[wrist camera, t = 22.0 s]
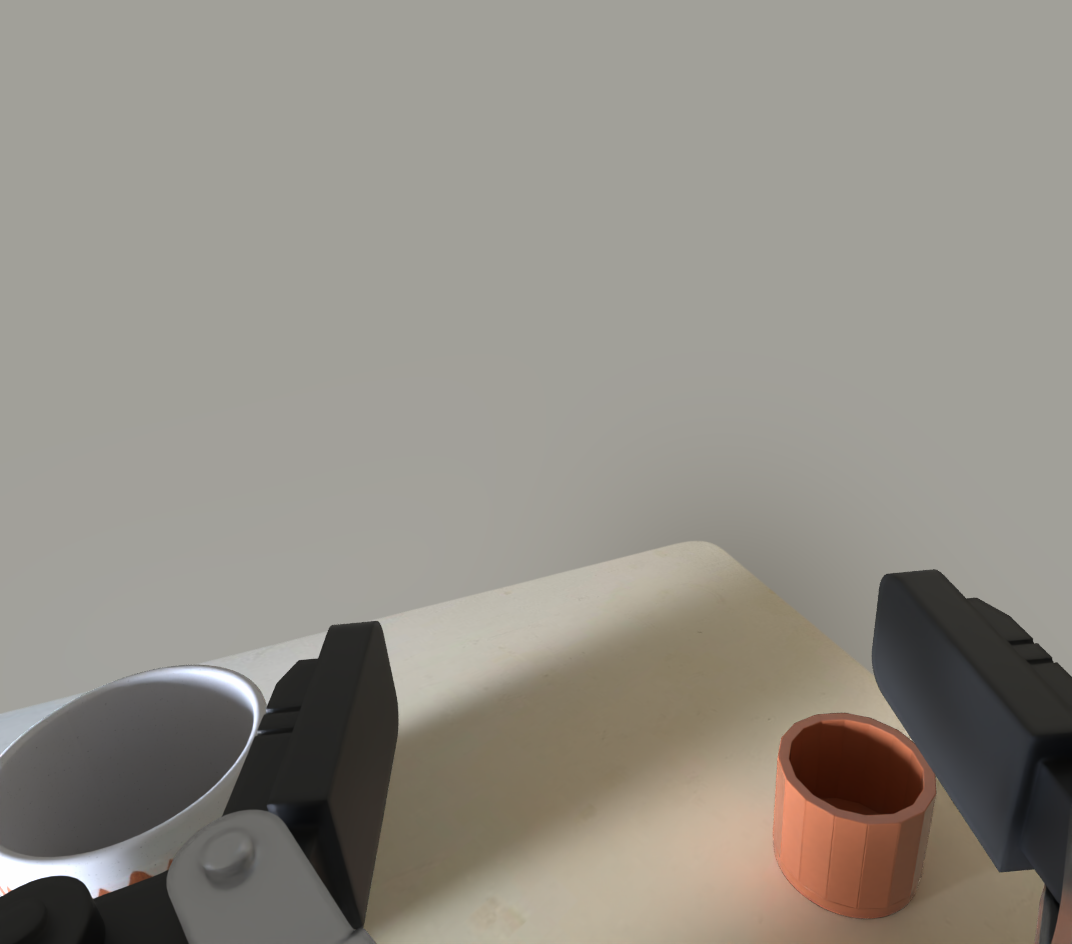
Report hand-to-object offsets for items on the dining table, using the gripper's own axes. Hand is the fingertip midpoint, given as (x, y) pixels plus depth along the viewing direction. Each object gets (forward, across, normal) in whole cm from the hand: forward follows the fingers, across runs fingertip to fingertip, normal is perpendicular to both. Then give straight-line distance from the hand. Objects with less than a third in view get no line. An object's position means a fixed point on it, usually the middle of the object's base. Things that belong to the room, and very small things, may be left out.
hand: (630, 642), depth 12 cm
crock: (+20, -14, +32) cm, 40 cm away
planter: (+20, +24, +32) cm, 45 cm away
